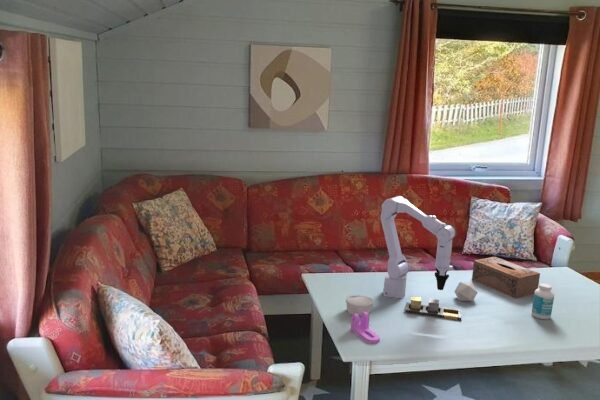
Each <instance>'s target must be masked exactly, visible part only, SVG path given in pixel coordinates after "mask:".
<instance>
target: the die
mask: <svg viewBox="0 0 600 400" xmlns="http://www.w3.org/2000/svg"><path fill="white" fill-rule="evenodd" d="M454 294H455V295H456V297H457V299H458V300H459V301H461V302H474V300H475V299H476V296H477V295H478V290H477V289H476V287H475V285H474V283H473V282H472V281H469V282H468V281H466V282H465V281H460V282H459V283H458V285H457V286H456V287H455V289H454Z"/></svg>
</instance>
